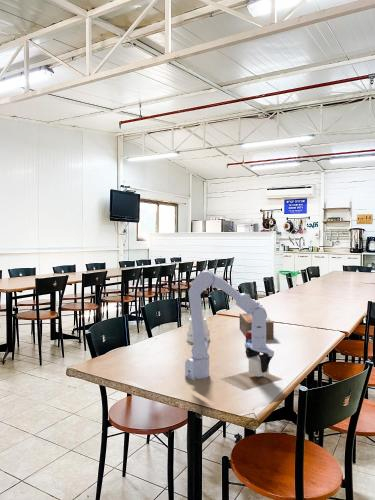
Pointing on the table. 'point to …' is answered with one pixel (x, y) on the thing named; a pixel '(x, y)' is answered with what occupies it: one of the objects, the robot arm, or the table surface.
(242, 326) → the tissue box cover
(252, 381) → the board
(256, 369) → the plaster cube
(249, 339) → the beverage can
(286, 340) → the table surface
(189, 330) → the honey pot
